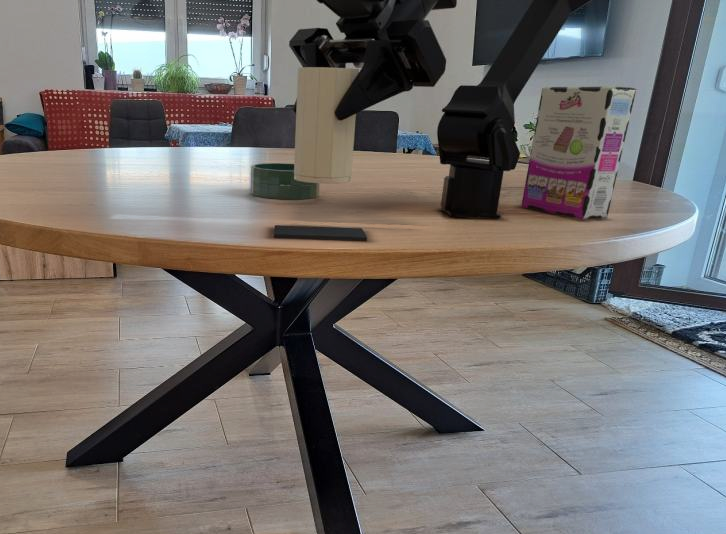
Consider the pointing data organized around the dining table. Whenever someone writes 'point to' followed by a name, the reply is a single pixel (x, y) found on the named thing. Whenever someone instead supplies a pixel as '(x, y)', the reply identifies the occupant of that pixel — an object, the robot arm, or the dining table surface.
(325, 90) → the cup
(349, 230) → the mat
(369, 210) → the dining table surface
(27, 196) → the dining table surface
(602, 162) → the candy bar box
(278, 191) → the bowl
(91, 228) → the dining table surface
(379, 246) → the dining table surface
